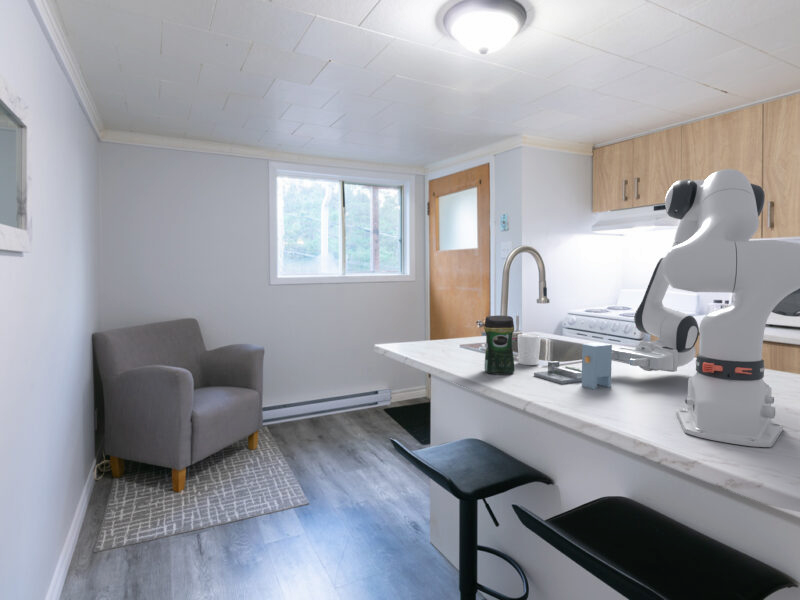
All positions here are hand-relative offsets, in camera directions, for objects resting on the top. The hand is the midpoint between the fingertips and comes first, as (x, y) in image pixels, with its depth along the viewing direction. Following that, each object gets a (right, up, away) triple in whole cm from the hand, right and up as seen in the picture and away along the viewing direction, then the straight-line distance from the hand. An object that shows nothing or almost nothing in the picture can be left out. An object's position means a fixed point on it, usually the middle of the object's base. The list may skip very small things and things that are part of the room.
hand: (617, 359), depth 135 cm
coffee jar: (-31, -6, +16) cm, 36 cm away
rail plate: (-12, -7, +8) cm, 16 cm away
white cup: (-18, -5, +30) cm, 35 cm away
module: (-7, -7, -3) cm, 11 cm away
